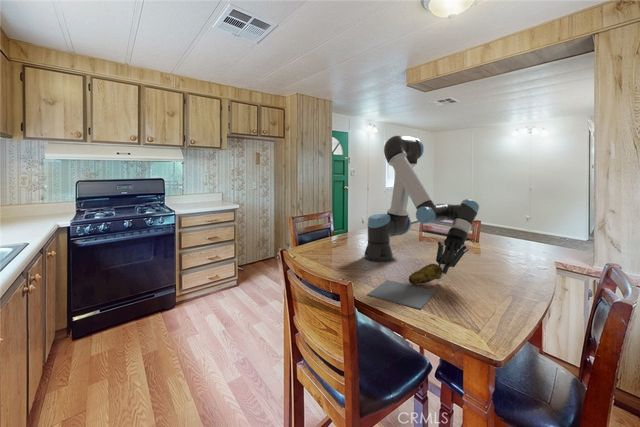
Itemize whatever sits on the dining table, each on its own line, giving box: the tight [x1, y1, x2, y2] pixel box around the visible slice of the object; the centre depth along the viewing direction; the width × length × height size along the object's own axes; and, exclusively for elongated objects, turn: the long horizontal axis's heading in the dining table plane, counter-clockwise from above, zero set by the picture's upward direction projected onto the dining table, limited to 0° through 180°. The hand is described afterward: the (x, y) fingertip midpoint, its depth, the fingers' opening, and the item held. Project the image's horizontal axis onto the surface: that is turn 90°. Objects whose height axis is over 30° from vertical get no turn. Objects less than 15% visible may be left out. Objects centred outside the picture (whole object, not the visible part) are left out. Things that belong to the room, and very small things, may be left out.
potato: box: [408, 263, 442, 286], centre depth 115 cm, size 8×13×8 cm, turn 73°
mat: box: [366, 279, 437, 310], centre depth 108 cm, size 20×18×1 cm
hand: (438, 279), depth 117 cm, fingers closed
